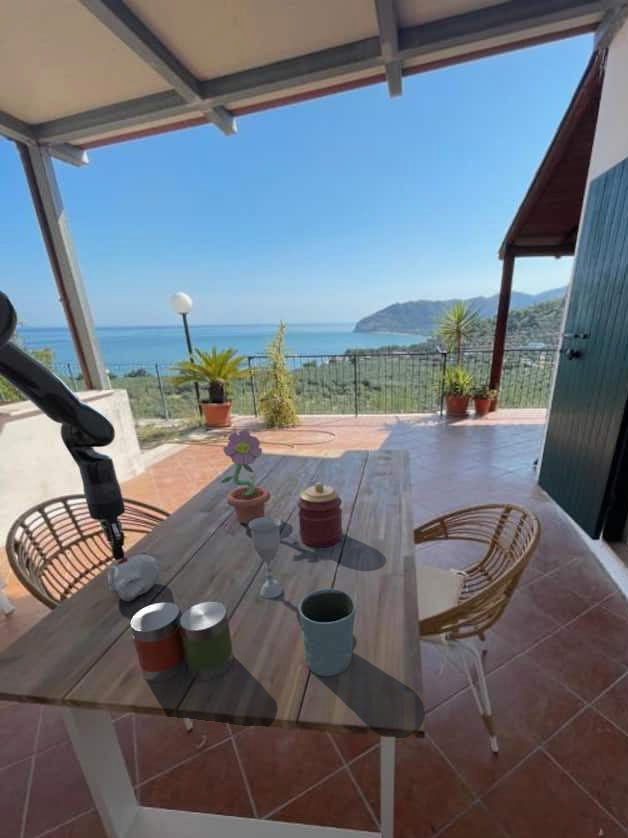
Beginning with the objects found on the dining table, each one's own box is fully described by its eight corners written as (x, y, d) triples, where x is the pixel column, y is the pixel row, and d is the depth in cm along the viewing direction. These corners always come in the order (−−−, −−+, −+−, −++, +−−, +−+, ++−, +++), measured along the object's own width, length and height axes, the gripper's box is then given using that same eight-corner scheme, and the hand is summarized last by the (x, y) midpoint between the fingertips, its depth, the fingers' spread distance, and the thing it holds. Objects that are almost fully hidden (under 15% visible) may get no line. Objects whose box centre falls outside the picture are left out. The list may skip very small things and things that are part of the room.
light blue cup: (292, 668, 71) (287, 614, 67) (319, 632, 80) (316, 582, 76) (341, 687, 67) (340, 630, 63) (364, 647, 76) (364, 595, 72)
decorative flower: (226, 532, 122) (213, 439, 112) (225, 514, 134) (214, 429, 124) (274, 525, 126) (266, 435, 116) (269, 509, 139) (262, 426, 128)
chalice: (249, 596, 91) (241, 527, 85) (266, 580, 97) (259, 515, 91) (276, 603, 88) (269, 532, 82) (292, 586, 94) (286, 519, 88)
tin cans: (133, 682, 68) (120, 632, 64) (154, 649, 75) (143, 602, 72) (226, 680, 68) (218, 630, 65) (238, 648, 76) (231, 600, 72)
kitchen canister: (312, 525, 126) (309, 473, 120) (349, 531, 122) (348, 478, 116) (291, 543, 115) (287, 487, 109) (331, 551, 110) (329, 493, 105)
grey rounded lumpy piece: (128, 611, 85) (99, 594, 94) (176, 586, 94) (145, 573, 103) (116, 575, 83) (87, 561, 91) (166, 552, 91) (136, 541, 100)
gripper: (80, 494, 98) (96, 554, 104) (92, 509, 89) (109, 574, 95) (114, 486, 103) (127, 544, 109) (128, 500, 94) (142, 562, 100)
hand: (119, 558), depth 102 cm, fingers closed
